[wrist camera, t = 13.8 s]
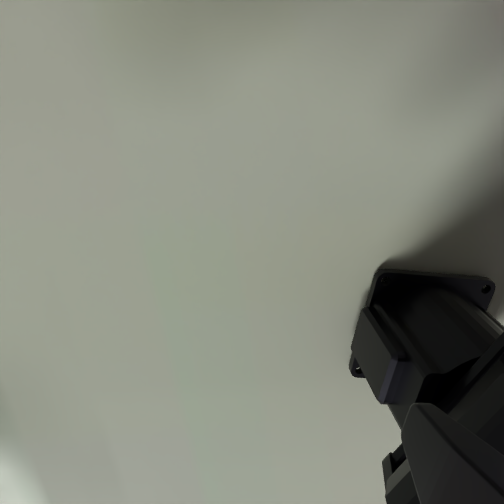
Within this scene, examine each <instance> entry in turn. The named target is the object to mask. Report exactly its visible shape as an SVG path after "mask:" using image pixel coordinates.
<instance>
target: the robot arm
mask: <svg viewBox="0 0 504 504" xmlns="http://www.w3.org/2000/svg"><path fill="white" fill-rule="evenodd" d="M384 277H388V279H387V280H386V281H385V282H381V280H382V279H383V278H384ZM485 285H486V287H485V288H484V289H483V290H482V288H483V287H484V286H485ZM495 287H496V286H495V283H494V282H493V281H491V280H490V279H489V278H486V277H477V276H466V275H454V274H442V273H430V272H418V271H406V270H395V269H381V270H379V271H378V272H376V273H375V275H374V278H373V281H372V285H371V288H370V292H369V295H368V299H367V303H366V306H365V307H364V308H363V309H362V310H361V313H360V316H359V320H358V323H357V327H356V330H355V334H354V338H353V341H352V345H351V350H352V356H351V359H350V363H349V369H350V372H351V374H352V375H353V376H354V377H357V378H366V379H367V381H368V383H369V385H370V387H371V389H372V391H373V393H374V395H375V397H376V399H377V400H378V401H379V402H380V404H387V405H388V407H389V409H390V410H391V412H392V414H393V416H394V418H395V420H396V422H397V424H398V425H399V427H400V429H401V439H402V444H401V445H400V446H399V447H398V448H397V449H396V450H395V451H394V452H393V453H391V452H390V453H389V454H388V455H387V456H386V457H385V458H384V460H383V461H382V466H383V474H384V482H385V490H386V494H385V498H386V502H387V504H504V326H503V325H501V324H500V323H499V322H498V321H497V320H496V319H495V318H494V317H493V316H491V315H490V314H489V313H488V312H487V308H488V306H489V303H490V301H491V298H492V296H493V294H494V291H495ZM358 367H360V368H359V369H356V368H358Z"/></svg>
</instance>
